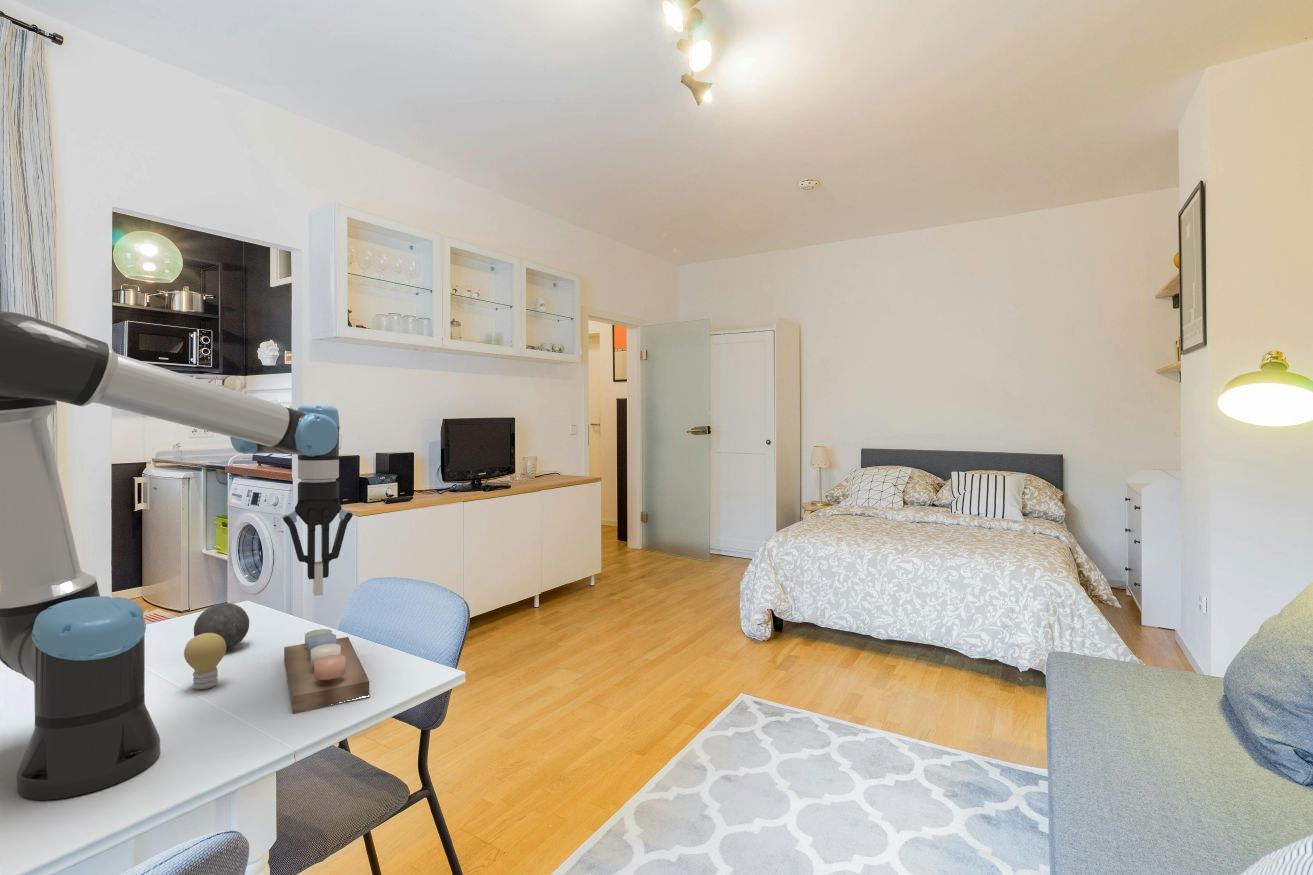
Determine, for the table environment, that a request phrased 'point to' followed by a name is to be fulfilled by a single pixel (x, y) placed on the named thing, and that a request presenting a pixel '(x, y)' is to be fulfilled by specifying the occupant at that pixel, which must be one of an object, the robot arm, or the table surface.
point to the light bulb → (205, 658)
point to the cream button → (324, 651)
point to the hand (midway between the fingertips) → (318, 593)
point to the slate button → (320, 640)
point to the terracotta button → (329, 667)
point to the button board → (323, 692)
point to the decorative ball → (224, 623)
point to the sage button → (315, 632)
